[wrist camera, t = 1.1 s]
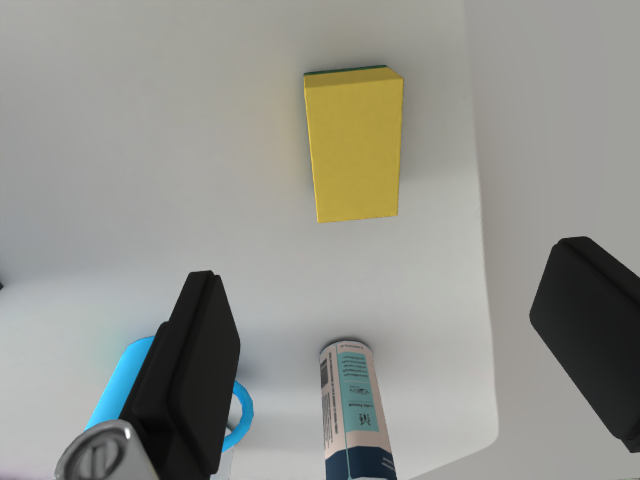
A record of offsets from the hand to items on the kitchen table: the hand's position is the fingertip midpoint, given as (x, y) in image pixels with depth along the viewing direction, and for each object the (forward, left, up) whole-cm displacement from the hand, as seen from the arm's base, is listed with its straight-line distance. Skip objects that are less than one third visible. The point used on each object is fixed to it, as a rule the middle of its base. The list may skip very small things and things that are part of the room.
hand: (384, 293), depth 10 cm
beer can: (+19, -1, -13) cm, 23 cm away
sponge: (-1, 0, -13) cm, 13 cm away
